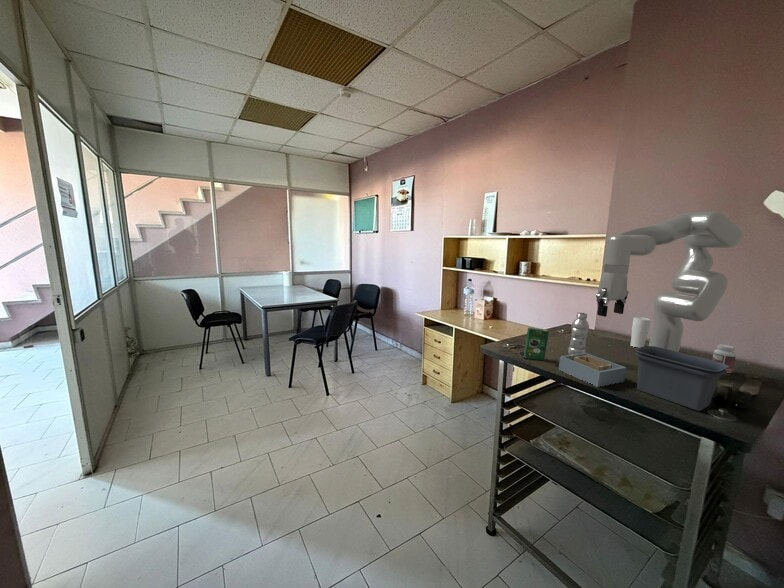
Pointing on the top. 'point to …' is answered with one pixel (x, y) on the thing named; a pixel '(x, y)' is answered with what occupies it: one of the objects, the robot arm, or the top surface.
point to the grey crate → (592, 371)
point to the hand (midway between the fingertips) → (610, 314)
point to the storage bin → (678, 376)
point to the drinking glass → (639, 331)
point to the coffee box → (536, 343)
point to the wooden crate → (593, 363)
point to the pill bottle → (725, 356)
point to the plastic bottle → (578, 334)
